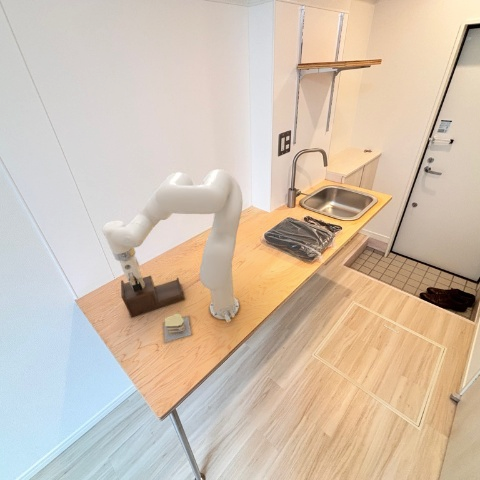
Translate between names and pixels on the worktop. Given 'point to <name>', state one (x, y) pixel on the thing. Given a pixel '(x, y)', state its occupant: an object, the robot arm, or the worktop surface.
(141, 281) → the spice jar
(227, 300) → the robot arm
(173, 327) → the stacked layers on plate
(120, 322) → the worktop surface
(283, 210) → the worktop surface
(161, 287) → the step rack
